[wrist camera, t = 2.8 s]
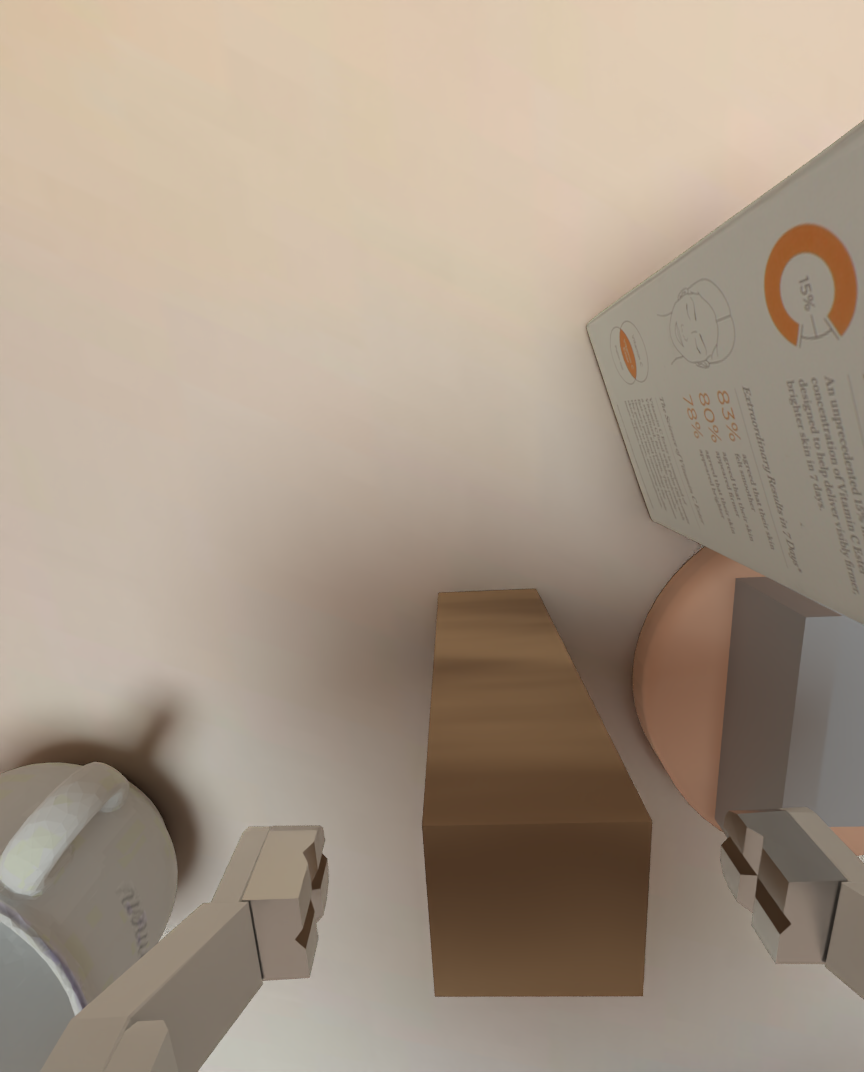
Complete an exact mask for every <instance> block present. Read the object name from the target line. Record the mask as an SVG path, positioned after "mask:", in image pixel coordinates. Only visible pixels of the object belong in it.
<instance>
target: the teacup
mask: <svg viewBox="0 0 864 1072" xmlns="http://www.w3.org/2000/svg"><path fill="white" fill-rule="evenodd" d="M177 881H178V868H177V860H176V854H175V850H174V847H173V843H172V841H171V838H170V836H169V833H168V831H167V829H166V827H165V823H164V821H163V819H162V817H161V815H160V813H159V812H158V810H157V808H156V807H155V805H154V804H153V803H152V801H151V800H150V799H149V798H148V797H147V796H146V795H145V794H144V793H143V792H142V791H141V790H139V789H138V788H137V787H136V786H134V785H133V784H132V783H130V782H128V780H127V779H126V778H125V777H124V776H123V775H122V774H121V773H120V772H119V771H117V770H116V769H115V768H113V767H111V766H109V765H107V764H105V763H101V762H92V763H89V764H86V765H84V766H81V765H77V764H70V763H61V762H56V763H39V764H32V765H27V766H23V767H19V768H16V769H12V770H9V771H6V772H4V773H1V774H0V1072H40V1070H41V1069H42V1067H43V1065H44V1064H45V1062H46V1060H47V1059H48V1057H49V1055H50V1054H51V1052H52V1050H53V1049H54V1047H55V1045H56V1044H57V1042H58V1040H59V1039H60V1037H61V1035H62V1034H63V1032H64V1030H65V1029H66V1027H67V1025H68V1024H69V1022H70V1020H71V1019H72V1018H73V1017H74V1016H76V1015H77V1014H78V1013H79V1012H80V1011H81V1010H82V1009H84V1008H85V1007H86V1006H87V1005H88V1004H89V1003H90V1002H92V1001H93V1000H94V999H95V998H96V997H97V996H98V995H99V994H101V993H102V992H103V991H104V990H105V989H106V988H107V987H109V986H110V985H111V984H112V983H113V982H114V981H115V980H116V979H118V978H119V977H120V976H121V975H122V974H123V973H124V972H126V971H127V970H128V969H129V968H130V967H131V966H132V965H133V964H135V963H136V962H137V961H138V960H139V959H140V958H141V957H143V956H144V955H145V954H146V953H147V952H148V951H149V950H151V949H152V948H153V947H154V946H155V945H156V944H157V943H158V942H159V940H160V938H161V936H162V934H163V932H164V929H165V927H166V925H167V922H168V920H169V917H170V914H171V912H172V909H173V905H174V901H175V897H176V892H177Z"/></svg>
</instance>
